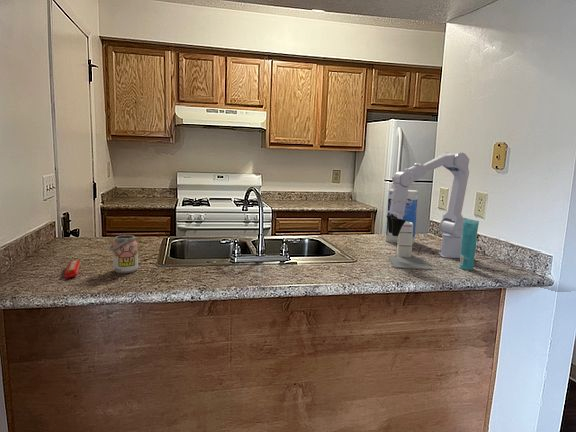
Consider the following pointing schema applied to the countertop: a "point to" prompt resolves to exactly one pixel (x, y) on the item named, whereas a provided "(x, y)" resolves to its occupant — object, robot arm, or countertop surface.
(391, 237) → the string lights box
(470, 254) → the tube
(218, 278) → the countertop surface
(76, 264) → the candy bar
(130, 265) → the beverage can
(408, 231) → the syrup box
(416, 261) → the mat
